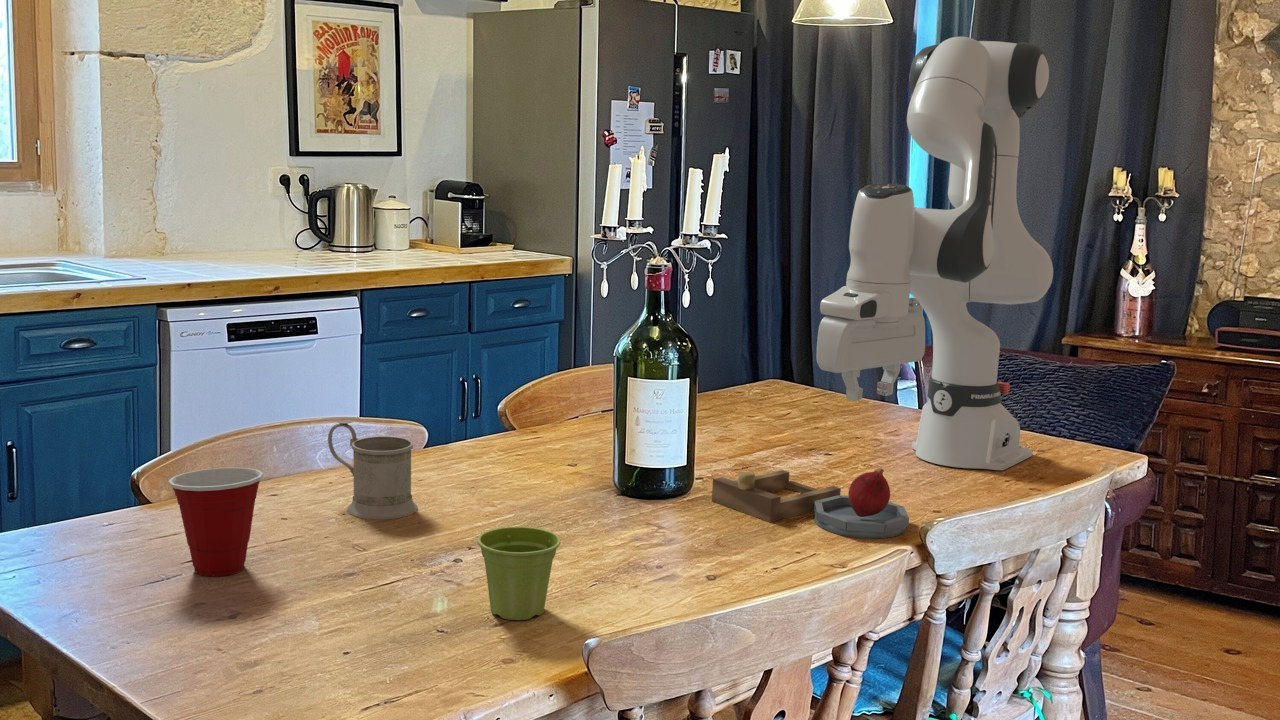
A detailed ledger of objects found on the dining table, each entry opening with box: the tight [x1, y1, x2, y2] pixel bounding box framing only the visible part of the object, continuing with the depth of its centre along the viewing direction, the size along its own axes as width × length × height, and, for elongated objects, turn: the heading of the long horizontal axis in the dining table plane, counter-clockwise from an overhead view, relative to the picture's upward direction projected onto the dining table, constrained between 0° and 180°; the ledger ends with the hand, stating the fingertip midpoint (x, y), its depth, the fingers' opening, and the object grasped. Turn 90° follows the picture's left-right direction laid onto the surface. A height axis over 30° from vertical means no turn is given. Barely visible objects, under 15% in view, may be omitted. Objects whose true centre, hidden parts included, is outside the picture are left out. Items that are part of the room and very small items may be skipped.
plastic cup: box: [167, 467, 264, 577], centre depth 148 cm, size 11×11×12 cm
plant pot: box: [476, 526, 562, 621], centre depth 139 cm, size 9×9×9 cm
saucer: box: [813, 494, 910, 540], centre depth 176 cm, size 13×13×2 cm
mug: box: [327, 419, 418, 521], centre depth 174 cm, size 14×10×12 cm
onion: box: [848, 467, 891, 517], centre depth 174 cm, size 6×6×8 cm
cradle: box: [711, 469, 842, 523], centre depth 184 cm, size 16×12×6 cm
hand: (869, 397), depth 173 cm, fingers open, 5 cm apart
